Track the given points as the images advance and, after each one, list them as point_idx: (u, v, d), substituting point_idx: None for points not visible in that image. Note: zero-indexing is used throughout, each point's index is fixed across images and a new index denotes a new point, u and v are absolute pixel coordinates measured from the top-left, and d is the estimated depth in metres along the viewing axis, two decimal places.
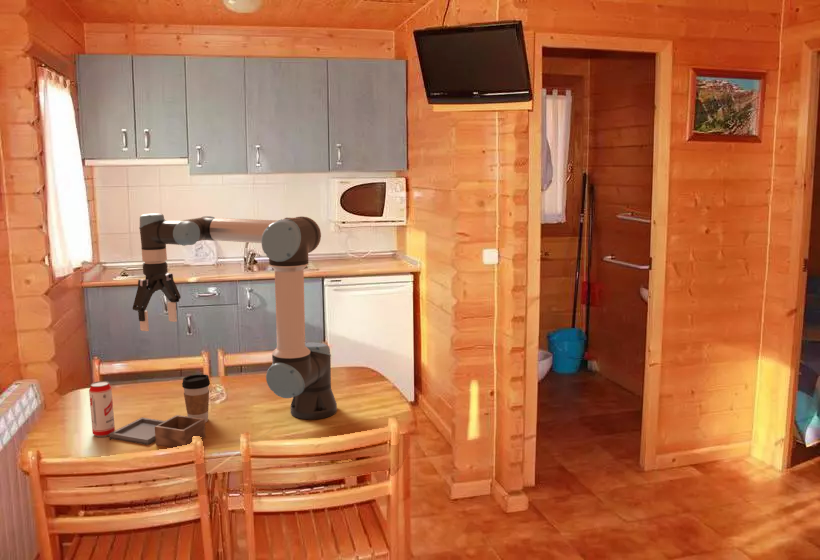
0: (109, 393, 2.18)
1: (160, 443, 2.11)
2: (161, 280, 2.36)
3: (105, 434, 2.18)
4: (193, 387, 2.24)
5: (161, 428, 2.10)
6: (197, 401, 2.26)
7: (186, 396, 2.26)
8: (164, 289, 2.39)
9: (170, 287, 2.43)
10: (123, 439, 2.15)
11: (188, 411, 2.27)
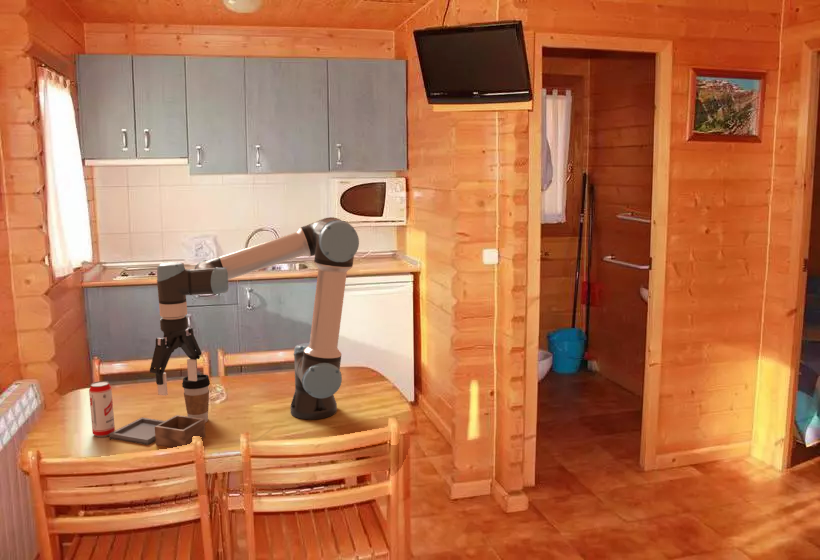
0: (109, 393, 2.18)
1: (160, 443, 2.11)
2: (181, 337, 2.10)
3: (105, 434, 2.18)
4: (193, 387, 2.24)
5: (161, 428, 2.10)
6: (197, 401, 2.26)
7: (186, 396, 2.26)
8: (184, 346, 2.13)
9: (190, 343, 2.17)
10: (123, 439, 2.15)
11: (188, 411, 2.27)
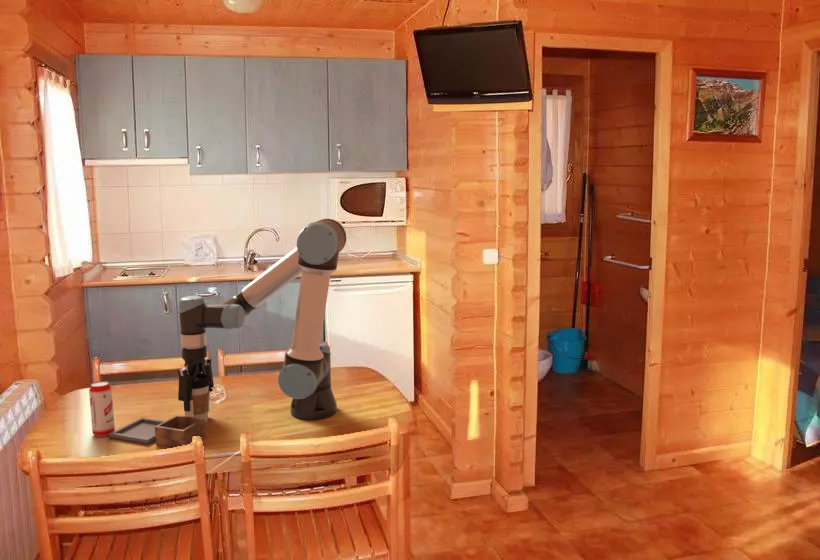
0: (109, 393, 2.18)
1: (160, 443, 2.11)
2: (200, 364, 2.27)
3: (105, 434, 2.18)
4: (193, 387, 2.24)
5: (161, 428, 2.10)
6: (197, 401, 2.26)
7: None
8: (201, 374, 2.29)
9: (206, 373, 2.33)
10: (123, 439, 2.15)
11: None
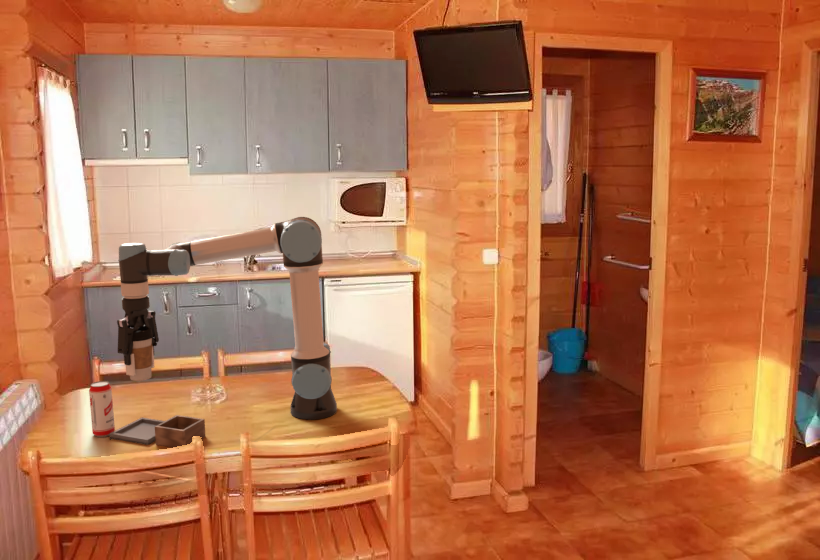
0: (109, 393, 2.18)
1: (160, 443, 2.11)
2: (143, 315, 2.14)
3: (105, 434, 2.18)
4: (134, 339, 2.11)
5: (161, 428, 2.10)
6: (138, 354, 2.13)
7: (127, 349, 2.13)
8: (144, 327, 2.16)
9: (150, 327, 2.20)
10: (123, 439, 2.15)
11: None
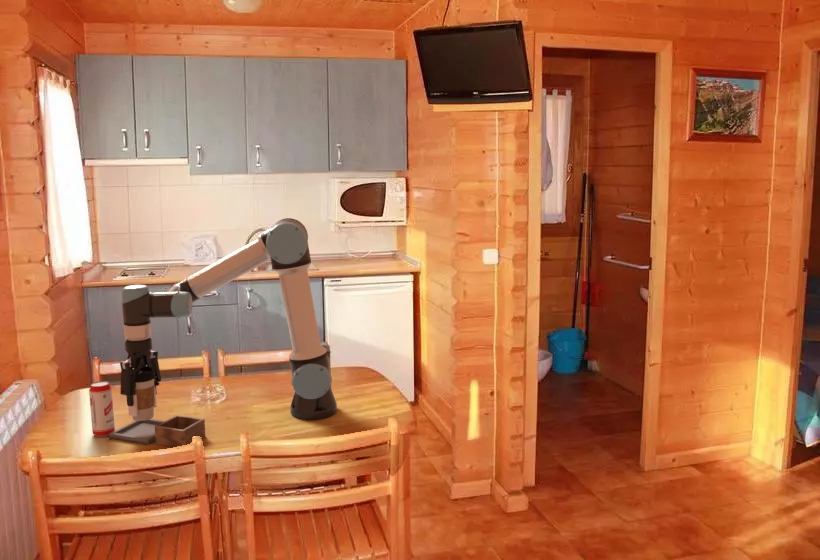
0: (109, 393, 2.18)
1: (160, 443, 2.11)
2: (145, 356, 2.17)
3: (105, 434, 2.18)
4: (136, 380, 2.13)
5: (161, 428, 2.10)
6: (141, 395, 2.15)
7: None
8: (147, 367, 2.19)
9: (152, 367, 2.22)
10: (123, 439, 2.15)
11: None
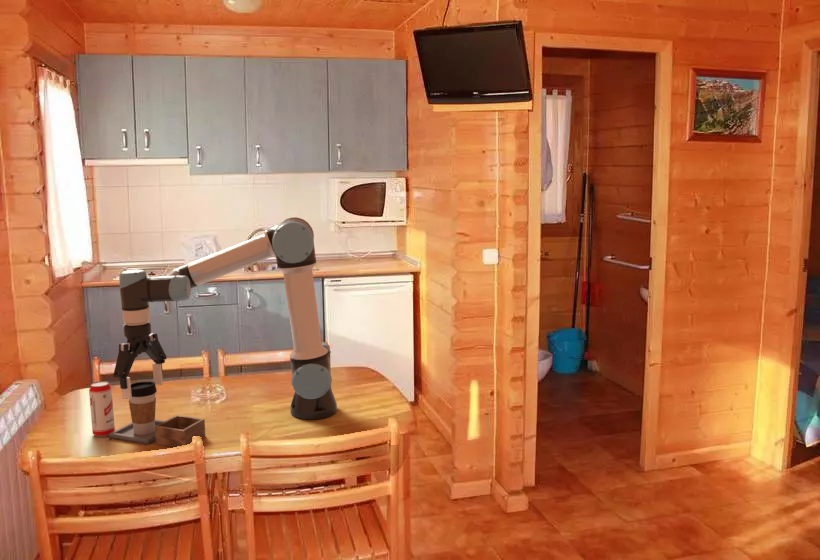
0: (109, 393, 2.18)
1: (160, 443, 2.11)
2: (144, 342, 2.16)
3: (105, 434, 2.18)
4: (138, 395, 2.14)
5: (161, 428, 2.10)
6: (142, 409, 2.15)
7: (131, 404, 2.16)
8: (148, 350, 2.19)
9: (155, 347, 2.23)
10: (123, 439, 2.15)
11: (133, 420, 2.17)
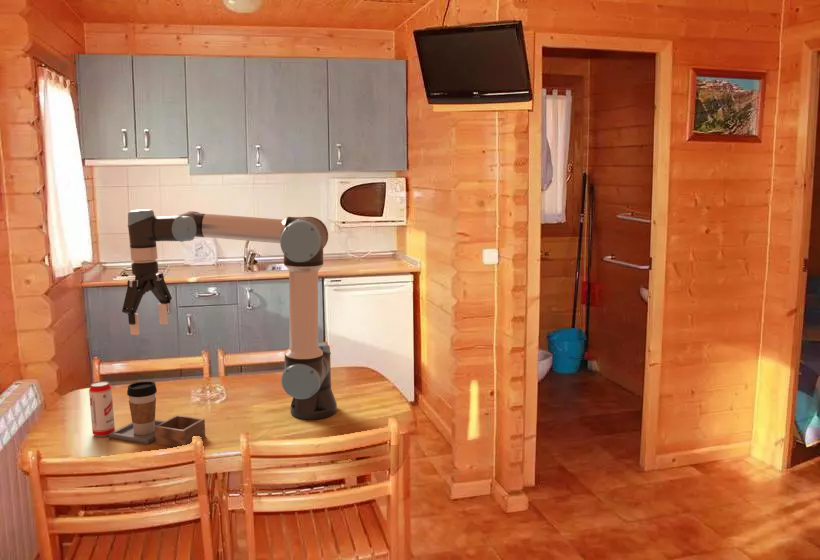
0: (109, 393, 2.18)
1: (160, 443, 2.11)
2: (151, 280, 2.21)
3: (105, 434, 2.18)
4: (138, 395, 2.14)
5: (161, 428, 2.10)
6: (142, 410, 2.15)
7: (131, 404, 2.16)
8: (155, 289, 2.24)
9: (160, 288, 2.28)
10: (123, 439, 2.15)
11: (133, 420, 2.17)
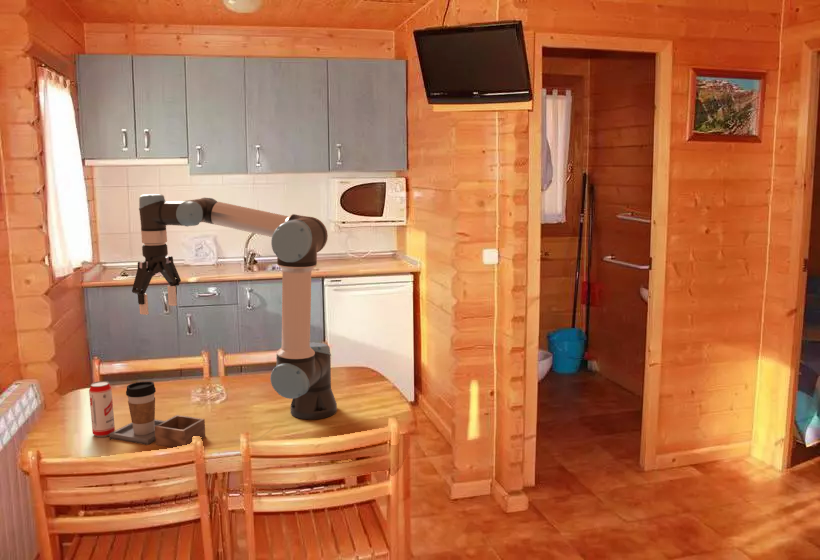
0: (109, 393, 2.18)
1: (160, 443, 2.11)
2: (161, 263, 2.30)
3: (105, 434, 2.18)
4: (136, 395, 2.14)
5: (161, 428, 2.10)
6: (141, 410, 2.15)
7: (130, 404, 2.16)
8: (164, 272, 2.33)
9: (170, 270, 2.37)
10: (123, 439, 2.15)
11: (132, 420, 2.17)
